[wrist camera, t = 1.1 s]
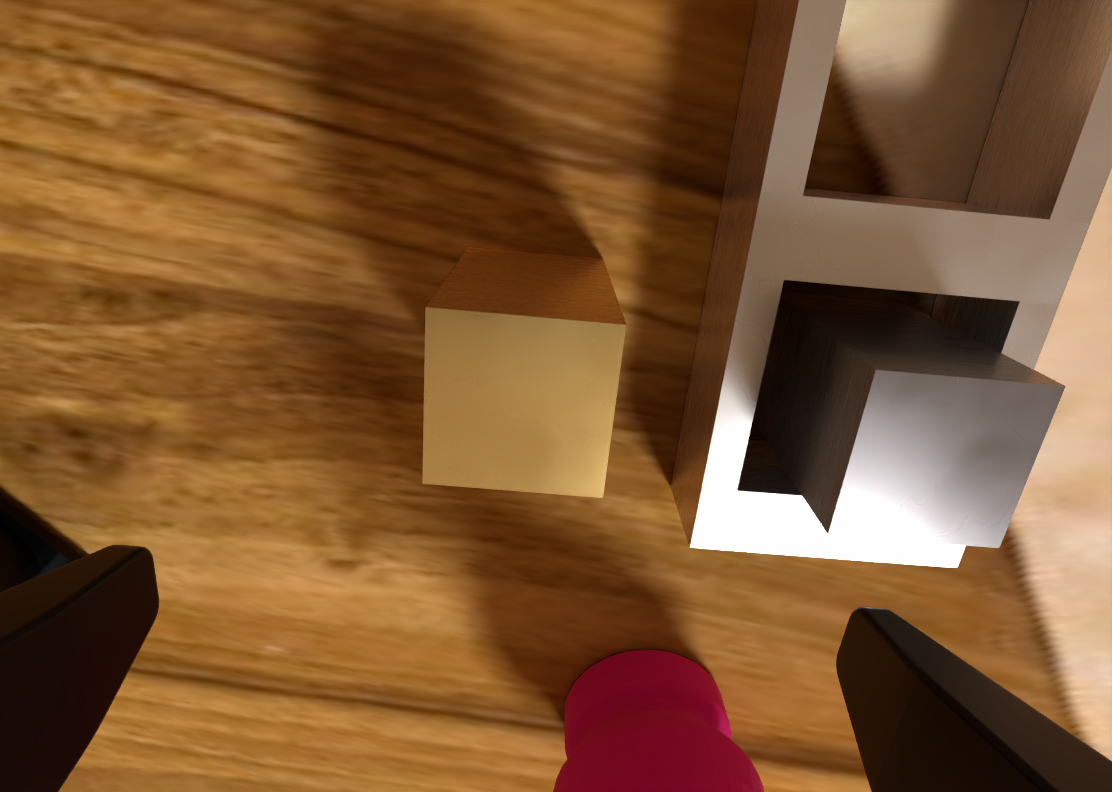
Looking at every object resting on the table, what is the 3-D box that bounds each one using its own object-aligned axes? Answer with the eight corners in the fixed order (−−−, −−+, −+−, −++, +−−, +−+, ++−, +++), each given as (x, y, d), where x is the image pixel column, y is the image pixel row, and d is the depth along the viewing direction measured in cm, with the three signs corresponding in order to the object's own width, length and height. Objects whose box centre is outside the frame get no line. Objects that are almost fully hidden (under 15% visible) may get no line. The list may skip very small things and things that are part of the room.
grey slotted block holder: (900, 505, 23) (1036, 655, 16) (670, 486, 23) (716, 632, 16) (1113, -134, 16) (1486, -305, 10) (788, -171, 16) (949, -374, 9)
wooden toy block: (463, 373, 21) (422, 483, 15) (468, 246, 20) (425, 306, 13) (588, 383, 21) (602, 497, 15) (603, 258, 20) (626, 324, 13)
